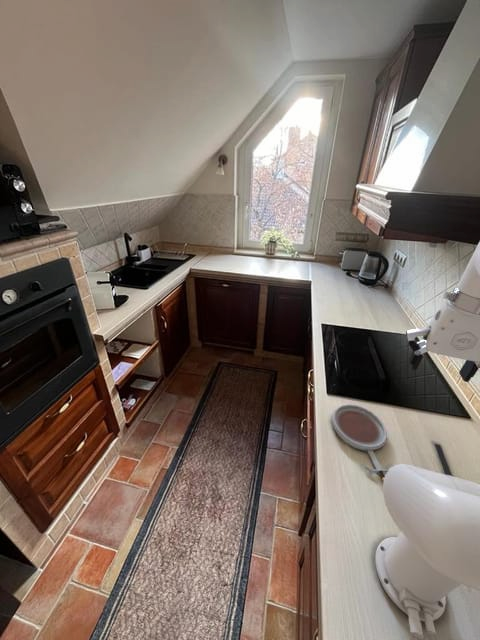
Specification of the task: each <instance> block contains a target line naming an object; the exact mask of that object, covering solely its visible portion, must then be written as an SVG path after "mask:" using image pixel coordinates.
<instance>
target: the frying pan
mask: <svg viewBox="0 0 480 640" xmlns="http://www.w3.org/2000/svg"><path fill="white" fill-rule="evenodd" d="M331 420H332V421H331V422H332V424H333V428H334V431H335V432H336V434H337V436H338V437H339V438H340V439H341V440H342V441H343V442H344V443H346V444H347V445H349V446H350V447H351V448H355V449H356V450H360V451H366V452H367V453H368V455H369V457H370V458H371V459H370V460H371V461H372V463H373V465H374V467H375V469H372V468H370V467H369V466H367V465H364V466H363V468H364V469H366V470H368V471H369V472H371V473H379V475H380V477H381V480H382V482H384V478H385V475H386V474H385V473H387V472H388V470H389V469H390V468H391V467H393V466H394V465H390V466H389V468H386V469H383V467H382V465H381V463H380V461H379V460H378V458H377V456H376V454H375V452H374V451H375V450H377V449H380V448H382V447H383V446H384V445H386V442H387V440H388V432H387V429H386V426H385V424H384V422H383V421H382V420H381V419H380V418H379V416H377V415H376V414H375V413H374V412H373V411H371V410H370V409H367V408H366V407H364V406H360V405H357V404H351V403H349V404H342V405H340V406H339V407H337V408H335V409H334V411H333V412H332V416H331Z"/></svg>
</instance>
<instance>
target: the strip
mask: <svg viewBox="0 0 480 640" xmlns="http://www.w3.org/2000/svg"><path fill="white" fill-rule="evenodd" d="M434 446H435V449H436V452H437V454H438V455H437V456H438V457H439V460H440V463H441V466H442V469H443V471H444V474H446V475H450V476H453V475H452V472H451V471H450V467H449V464H448V461H447V459H446V455H445V454H444V452H443V449H442V446H441V445H440V444H438V443H434Z"/></svg>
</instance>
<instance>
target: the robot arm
mask: <svg viewBox="0 0 480 640" xmlns="http://www.w3.org/2000/svg"><path fill="white" fill-rule="evenodd" d="M476 245H477V246H476V247H475V250H474V251H473V254H472V255H471V257H470V259H469V262H467V265H466V268H465V269H464V271H463V273H462V275H461V277H460V280H459V281H458V284H457V285H456V287H454V289H453V291H445V292H444V293H443V299H445V300H447V301H445V302H443V304H442V305H441V306H440V307H439V309H438V310H437V311H436V313H435V314H434V315H433V317H432V319H431V320H430V321H429V323H428V325H427V326H425V327H420V328H419V327H418V328H413V329H408V330H406V331H405V334H406V341H407V343H408V345H409V347H410V349H411V350H412V351H411V353H410V356H409V357H408V361H407V362H408V364H409V365H410V367H411V370H412V371H417V370H418V368H419V366H420V364H421V362H422V360H423V354H425V353H428V352H430V353H433V354H435V355H441V356H444V357H450V358H455V359H460V360H465V361H464V363H463V365H462V367H461V368H460V370H459V371H458V373H459V376H460V377H461V379H462V380H463V381H464V382H465V383H469V382H470V380H471V379H472V378H474V377H475V375H476V374H477V372H478V371H479V369H480V241H479V242H478V243H477V244H476ZM418 337H422V339H421V340H420V341H417V342H416V338H418ZM390 467H391V466H390ZM390 467H389V468H390ZM389 468H388V469H389ZM384 475H385V478H384V481H382V482H383V483H382V494H383V499H384V503H385V506H386V509H387V512H388V513H389V516H390V517H391V519H392V522H394V523H395V525H396V526H397V528H398V530H400V533H399V534H398V535H397V537H396V536H392V537H391V536H390V537H386V538H384V539H382V540H381V542H380V543H379V544H378V546H377V548H376V550H375V557H374V563H375V570H376V573H377V576H378V579H379V581H380V583H381V585H382V587H383V589H384V591H385V593H386V594H387V595H388V598H390V600H391V601H392V602H393V603H394V604H395V605H396V607H397V608H398V609H400V610H401V611H402V612H403V613H404V614H406V615H407V616H408V625H409V631H410V635H412V637H415V638H417V639H421V640H423V639H424V638H425V637H424V632H423V627H422V622H424V625H425V630H426V633H427V634H429V635H432V636H436V635H437V631H436V628H435V624H434V621H436V620H438V619H439V618H440V617H441V616H443V613H444V612H445V610H446V605H447V595H450V593H452V592H453V591H454V590H455V589H457V588H458V587H460V586H461V585H463V586H466V587H468V588H471V589H473V590H477V591H479V592H480V483H477V482H474V481H471V480H467V479H463V478H460V477H456V476H453V475H452V476H450V475H446V474H445V473H440V472H437V471H433V470H430V469H427V468H422V467H419V466H416V465H411V464H406V463H398V464H395V465H393V467H391V468H390V469H389V470H388V472H385V474H384Z"/></svg>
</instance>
